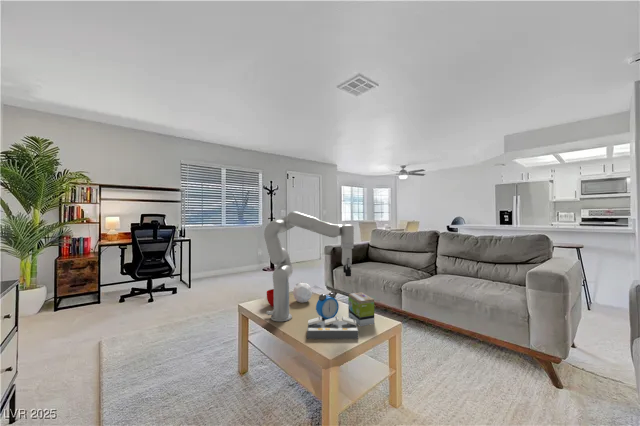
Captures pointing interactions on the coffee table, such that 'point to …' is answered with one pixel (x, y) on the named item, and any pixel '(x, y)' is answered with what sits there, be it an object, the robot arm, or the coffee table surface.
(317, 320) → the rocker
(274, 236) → the robot arm
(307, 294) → the geodesic sphere
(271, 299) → the ceramic cup
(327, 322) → the plate
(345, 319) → the rocker
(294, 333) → the coffee table surface
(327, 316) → the alarm clock
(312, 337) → the switch console
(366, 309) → the tea box
